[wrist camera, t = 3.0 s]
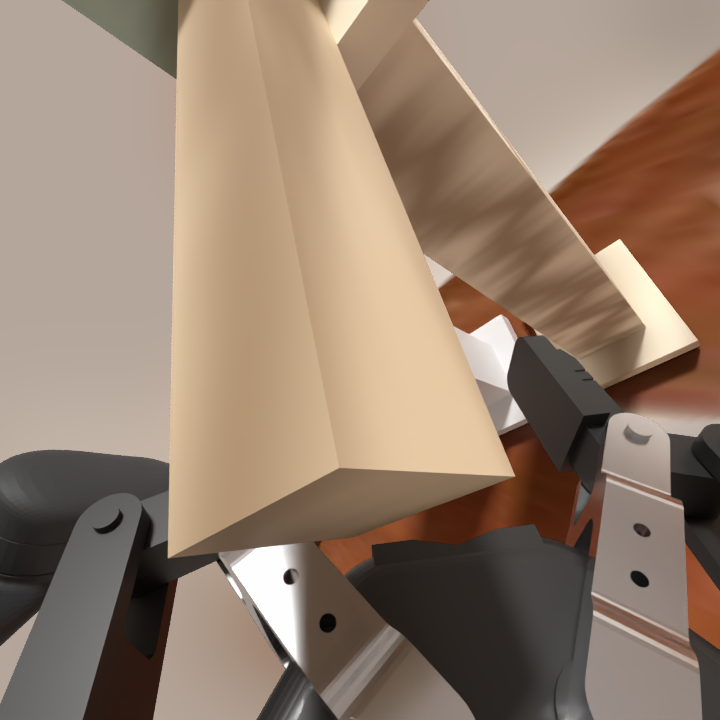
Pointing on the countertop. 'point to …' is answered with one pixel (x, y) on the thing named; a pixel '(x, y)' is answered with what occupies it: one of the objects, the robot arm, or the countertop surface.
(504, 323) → the white pedestal stand
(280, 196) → the mallet
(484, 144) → the beige wooden post
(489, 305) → the countertop surface
